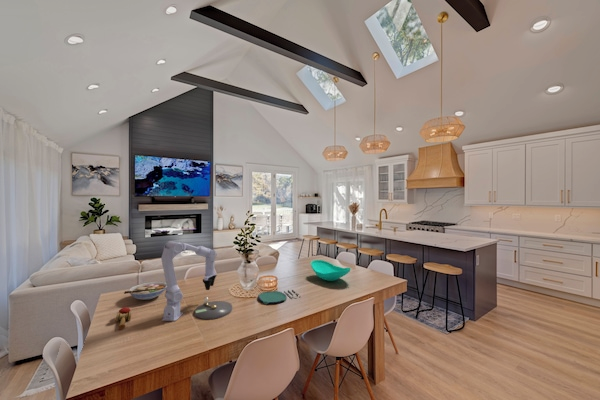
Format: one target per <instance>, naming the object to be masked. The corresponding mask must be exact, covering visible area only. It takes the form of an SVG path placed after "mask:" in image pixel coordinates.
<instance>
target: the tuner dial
mask: <svg viewBox="0 0 600 400" xmlns="http://www.w3.org/2000/svg"><path fill="white" fill-rule="evenodd" d="M208 304H209V305H217V308H216V309H211V307H208V306H204V305H203V303H202V304H200V305H198V306H196V307H195V309H194V316H195V317H196V318H198V319H199V320H200V319H201V320H216V319H221V318H224V317H226V316H229V314H231V312H232V311H233V305H232V303H230V302H228V301H224V300H214V301H208Z"/></svg>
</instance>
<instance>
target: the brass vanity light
mask: <svg viewBox="0 0 600 400" xmlns="http://www.w3.org/2000/svg"><path fill="white" fill-rule="evenodd" d="M203 300H204V301H203V303H202V304H203V305H204V306H208V307H211V309H216V308H217V305H209V304H208V302H209V297H208V296H206V297H205V296H204V299H203Z"/></svg>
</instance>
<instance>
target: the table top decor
mask: <svg viewBox="0 0 600 400" xmlns="http://www.w3.org/2000/svg"><path fill="white" fill-rule="evenodd" d="M310 266H311V269H312V271H313V272H314V274H316V276H317V277H318V278H320V279H322V280H324V281H327V282H335V281H337V280H339V279H342V277H345V276H347V274H349V273H350V272H351V269H352V268H351V267H340V266H337V265H334V264H333V263H331V262H328V261H325V260H321V259H315V260H312V261H310Z"/></svg>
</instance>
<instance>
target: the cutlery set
mask: <svg viewBox="0 0 600 400" xmlns="http://www.w3.org/2000/svg"><path fill="white" fill-rule="evenodd" d="M291 291H292V292H293V293H294V292H295V293H296V294H295V293H294V294H295V295H300V294H299V293H297V292H296V291H295V290H294V289H291V290H289V289H288V290H287V292H288V293H287V292H286V290H285V291H284V290H283V292H284V293H283V292H282V291H279V290H272V291H264V292H261V293H259V294H258V296H257V298H258V300H259V302H262V303H263V304H264V305H268V304H277V303H282V302H285V301H286V300H287V299H288V298H289V299H291V300H293V297H294V296H293V295H294V294H293V293H292V292H291ZM290 294H291V296H290ZM287 296H288V297H287ZM292 296H293V297H292Z"/></svg>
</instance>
